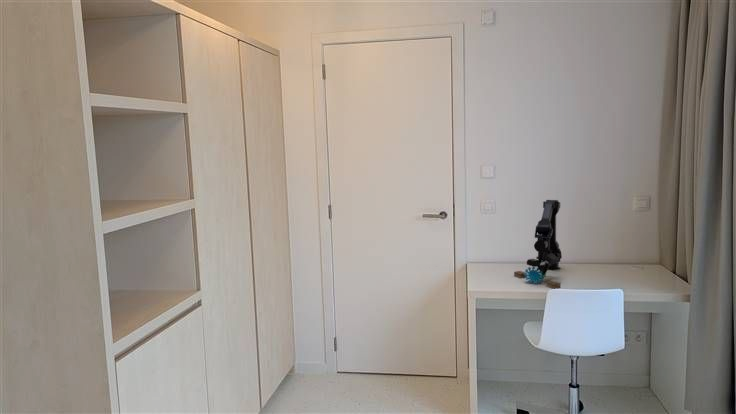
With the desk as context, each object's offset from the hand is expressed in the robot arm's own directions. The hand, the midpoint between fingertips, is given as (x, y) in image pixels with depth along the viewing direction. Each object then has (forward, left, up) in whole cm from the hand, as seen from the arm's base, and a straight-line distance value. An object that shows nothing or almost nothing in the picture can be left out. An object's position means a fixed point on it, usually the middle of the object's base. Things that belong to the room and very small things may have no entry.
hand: (543, 276), depth 288 cm
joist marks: (+5, 0, -2) cm, 6 cm away
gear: (+6, 0, -2) cm, 7 cm away
